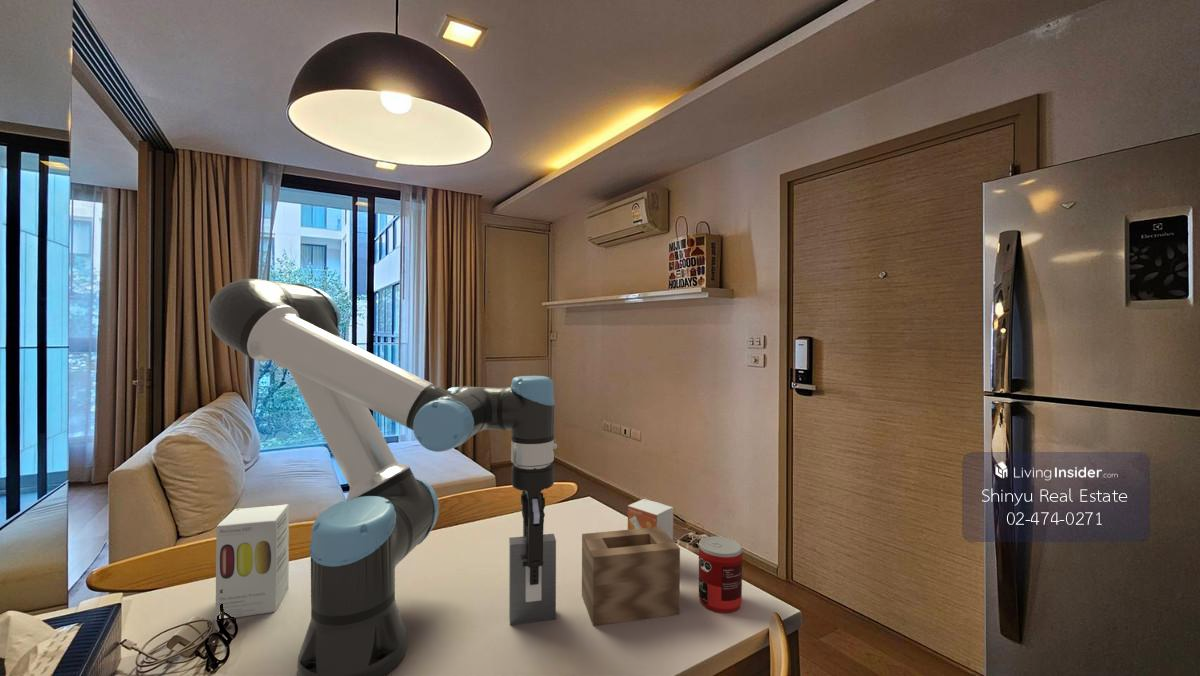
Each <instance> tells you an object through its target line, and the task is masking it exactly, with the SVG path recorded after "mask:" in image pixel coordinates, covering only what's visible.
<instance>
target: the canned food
mask: <svg viewBox="0 0 1200 676" xmlns="http://www.w3.org/2000/svg"><path fill="white" fill-rule="evenodd" d="M742 582H743V545H741V544H740V543H739V542H738V541H737V540H734V539H731V538H728V537H725V536H718V535H717V536H715V535H713V536H707V537H703V538H701V539H700V540H699V543H698V599H699V602H700V603H701V605H702V606H704V607H705V608H707V609H708V610H710V611H712V612H716V613H722V614H726V613H727V614H728V613H733V612H736V611H738V610H739V609H740V607H741V605H742V601H743V600H742V598H743V597H742V594H743V591H742V590H743V583H742Z"/></svg>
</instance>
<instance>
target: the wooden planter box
mask: <svg viewBox="0 0 1200 676" xmlns="http://www.w3.org/2000/svg"><path fill="white" fill-rule="evenodd" d="M680 574H681V548H680V546H679V545H678V544H677V543H676V542H675V541H674V539H673V540H672V539H671V538H670V537H669V536H668V534H667V533H666V532H665V531H664V530H663V529H662V528H661V527H652V528H641V529H630V530H628V529H622V530H621V529H619V530H611V531H610V530H609V531H600V532H598V531H597V532H589V533H587V532H586V533H582V534H581V597H582V600H583V602H584V605H585V607H586V608H585V609H586V611H587V613H588V616H589V619H590V621H591V624H592V627H594V626H595V627H596V626H601V625H610V624H617V623H624V622H632V621H641V620H647V619H654V618H659V617H660V618H661V617H668V616H674V615H675V616H676V615H680V595H681V593H680V590H681V589H680V582H681V578H680V577H681V575H680Z"/></svg>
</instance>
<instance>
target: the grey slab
mask: <svg viewBox="0 0 1200 676" xmlns="http://www.w3.org/2000/svg"><path fill="white" fill-rule="evenodd" d="M508 544H509V545H508V546H509V547H508V551H509V552H508V553H509V554H508V575H509V576H508V618H509V626H511V625H512V624H513V625H520V624H526V623H534V622H542V621H549V620H556V617H557V609H556V608H557V607H556V606H557V602H556V601H557V581H556V580H557V539H556V535H555V534H554V533H547V534H544V533H543V566H542V571H541V600H540V601H531V602H526V600H525V581H526V566H525V567H523V563H522V562H526V561H527V536H523V535H522V536H514V537H509V538H508Z"/></svg>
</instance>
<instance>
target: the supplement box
mask: <svg viewBox="0 0 1200 676" xmlns="http://www.w3.org/2000/svg"><path fill="white" fill-rule="evenodd" d="M215 533H216V536H215V538H216V539H215V541H216V546H215V547H216V548H215V549H216V550H215V556H216V557H215V617H214V618H215V619H214V620H215V621H216V620H217V616H218V614H219V612H220V605H221V604H223V609H224V612H225V613H227V614H229V615H231V616H232V617H234V618H233V619H235V618H243V617H248V616H255V615H261V614H268V613H275V612H276V611H277V609H278V607H279V606H280V604H281V602H282V600H283V598H284V597H285V594H286V593H287V591H288V589H289V581H290V580H289V575H290V574H289V571H290V570H289V569H290V560H289V559H290V558H289V555H290V554H289V553H290V551H289V549H290V548H289V547H290V504H287V503H285V504H284V503H283V504H279V505H267V506H255V507H245V508H240V507H239V508H235V509H233V510H232V511H231V512H230V513H229V514H228V515H227V516H225V517H224V518H223V519H222V520H221V521H220V522H219V523H218V524H217V525H216V532H215ZM217 621H218V620H217Z"/></svg>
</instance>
